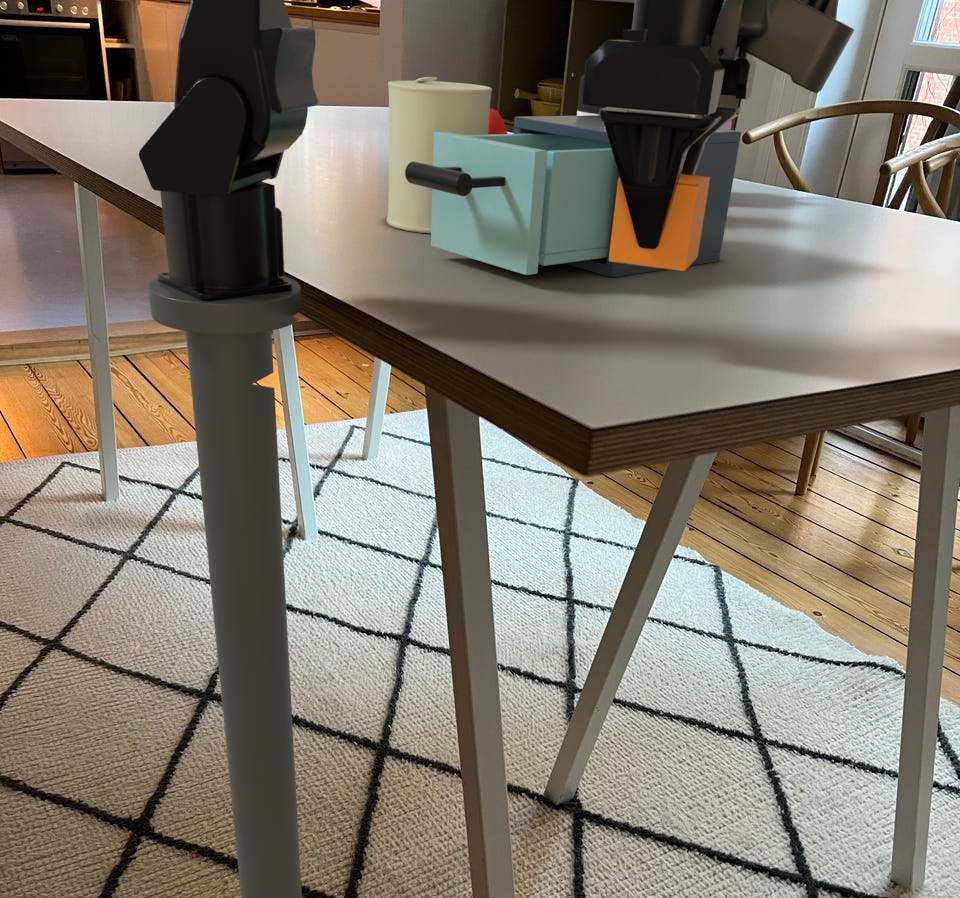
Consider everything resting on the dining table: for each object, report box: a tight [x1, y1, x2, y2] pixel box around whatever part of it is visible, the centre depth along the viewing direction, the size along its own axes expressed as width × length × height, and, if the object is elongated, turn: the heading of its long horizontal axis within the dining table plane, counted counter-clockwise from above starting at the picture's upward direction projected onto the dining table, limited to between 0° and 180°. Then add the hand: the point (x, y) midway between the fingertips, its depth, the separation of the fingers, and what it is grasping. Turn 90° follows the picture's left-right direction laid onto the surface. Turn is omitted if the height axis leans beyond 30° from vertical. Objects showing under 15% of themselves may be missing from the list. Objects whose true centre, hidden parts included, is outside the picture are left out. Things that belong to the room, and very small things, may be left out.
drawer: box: [405, 132, 617, 276], centre depth 78 cm, size 17×11×8 cm, turn 131°
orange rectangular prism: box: [609, 174, 710, 272], centre depth 59 cm, size 4×4×4 cm
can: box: [386, 76, 493, 234], centre depth 91 cm, size 9×9×12 cm
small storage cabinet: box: [513, 115, 742, 278], centre depth 85 cm, size 14×13×10 cm
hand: (655, 241), depth 59 cm, fingers closed on orange rectangular prism, 4 cm apart
